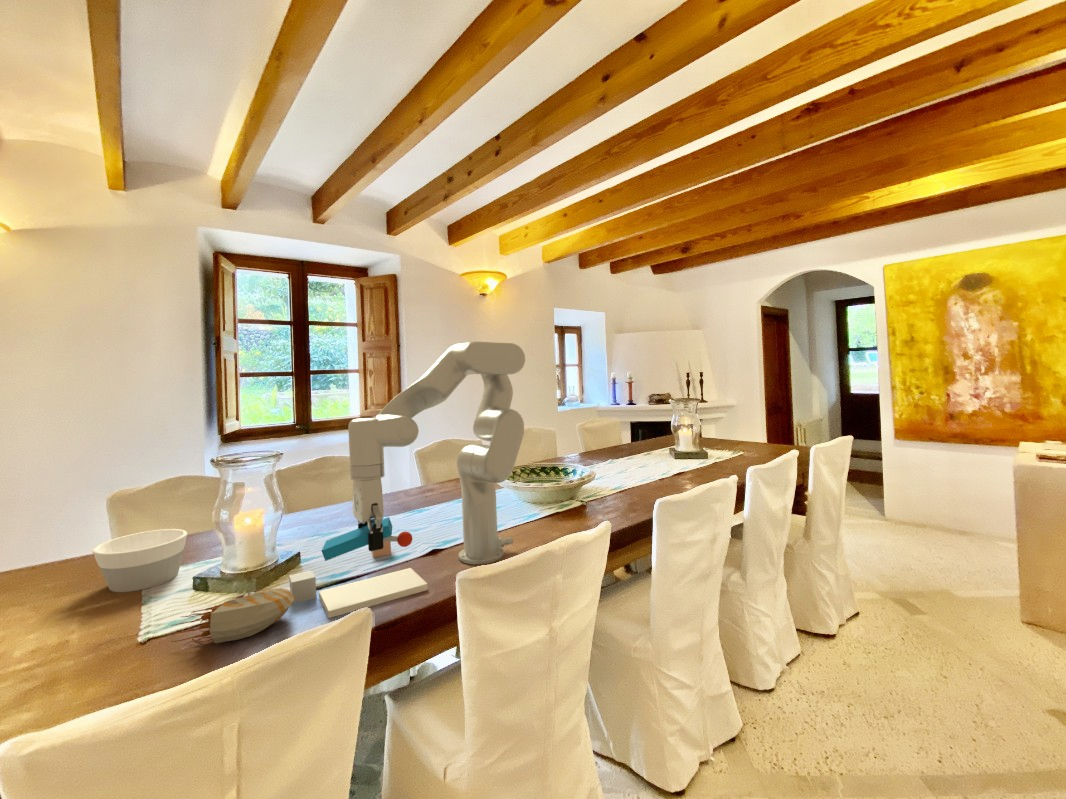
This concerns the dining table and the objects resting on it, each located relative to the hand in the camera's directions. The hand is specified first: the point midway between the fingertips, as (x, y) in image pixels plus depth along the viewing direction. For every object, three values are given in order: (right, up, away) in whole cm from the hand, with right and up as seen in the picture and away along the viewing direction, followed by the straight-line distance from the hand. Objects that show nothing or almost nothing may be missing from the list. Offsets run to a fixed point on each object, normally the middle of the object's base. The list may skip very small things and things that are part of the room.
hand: (370, 543), depth 112 cm
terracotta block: (-6, -11, +27) cm, 30 cm away
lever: (0, -2, 0) cm, 2 cm away
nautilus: (-22, -14, -15) cm, 30 cm away
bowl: (-64, -14, +13) cm, 67 cm away
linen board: (+1, -12, +1) cm, 12 cm away
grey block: (-16, -13, +1) cm, 20 cm away
